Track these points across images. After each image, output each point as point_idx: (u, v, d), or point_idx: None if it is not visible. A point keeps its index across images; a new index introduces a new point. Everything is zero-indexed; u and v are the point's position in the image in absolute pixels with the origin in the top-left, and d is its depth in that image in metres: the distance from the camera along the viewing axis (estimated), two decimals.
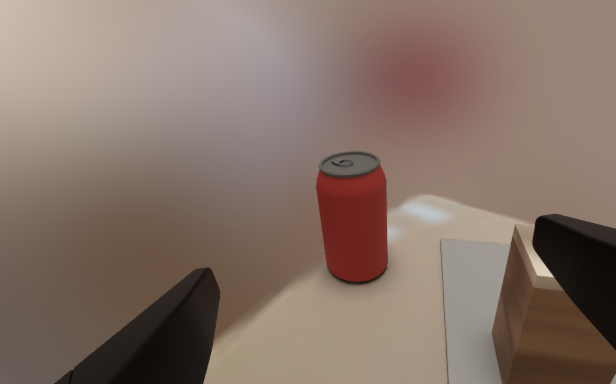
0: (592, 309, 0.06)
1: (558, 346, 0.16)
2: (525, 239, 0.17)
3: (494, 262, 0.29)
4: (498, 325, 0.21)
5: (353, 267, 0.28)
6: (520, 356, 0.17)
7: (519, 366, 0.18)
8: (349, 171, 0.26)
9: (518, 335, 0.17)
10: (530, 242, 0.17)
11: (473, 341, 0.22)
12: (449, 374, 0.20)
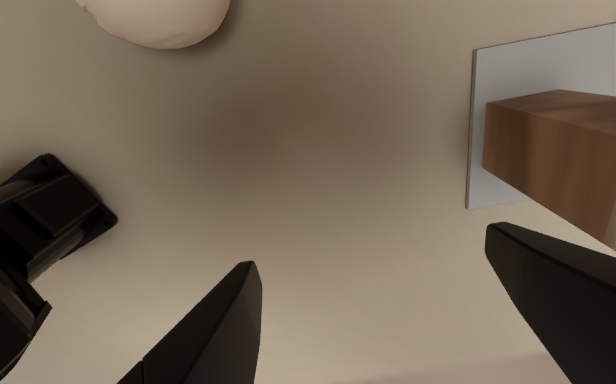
0: (533, 317, 0.07)
1: (542, 153, 0.15)
2: None
3: None
4: (570, 96, 0.17)
5: None
6: (527, 118, 0.15)
7: (515, 117, 0.16)
8: None
9: (552, 117, 0.14)
10: None
11: (545, 69, 0.18)
12: (496, 47, 0.17)
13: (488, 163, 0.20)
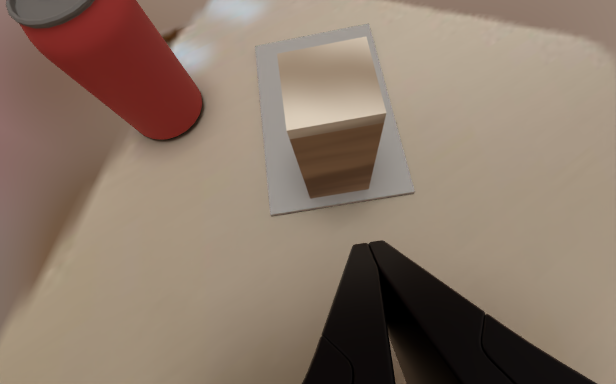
0: (391, 336, 0.07)
1: (330, 167, 0.18)
2: (283, 77, 0.14)
3: None
4: None
5: (160, 126, 0.24)
6: (308, 179, 0.19)
7: (311, 184, 0.20)
8: (59, 8, 0.16)
9: (300, 169, 0.18)
10: (288, 80, 0.14)
11: (288, 161, 0.24)
12: (269, 200, 0.23)
13: (361, 186, 0.22)
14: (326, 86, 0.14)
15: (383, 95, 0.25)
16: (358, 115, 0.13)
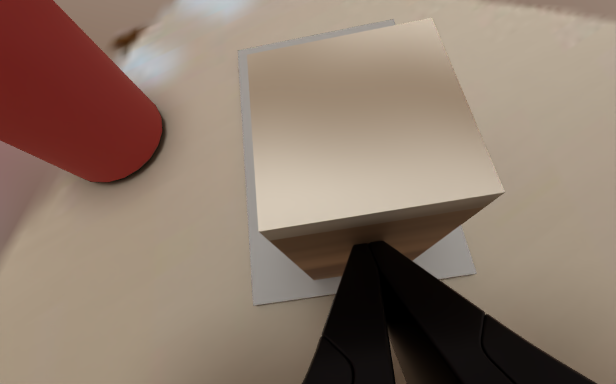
0: (391, 336, 0.07)
1: None
2: (258, 102, 0.07)
3: None
4: None
5: (94, 167, 0.17)
6: (311, 270, 0.11)
7: (315, 272, 0.12)
8: None
9: (296, 261, 0.10)
10: (266, 110, 0.07)
11: None
12: (252, 281, 0.15)
13: None
14: (351, 123, 0.06)
15: None
16: (432, 196, 0.05)
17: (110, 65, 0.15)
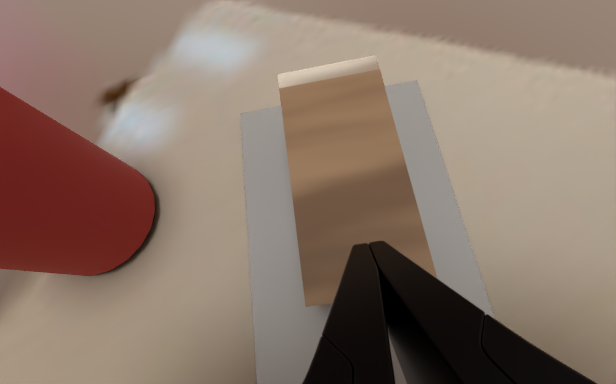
0: (391, 336, 0.07)
1: (332, 160, 0.12)
2: None
3: None
4: None
5: (75, 270, 0.14)
6: (300, 200, 0.11)
7: (305, 222, 0.11)
8: None
9: (289, 167, 0.12)
10: None
11: (292, 333, 0.14)
12: None
13: None
14: None
15: (451, 210, 0.15)
16: (348, 62, 0.13)
17: (91, 159, 0.13)
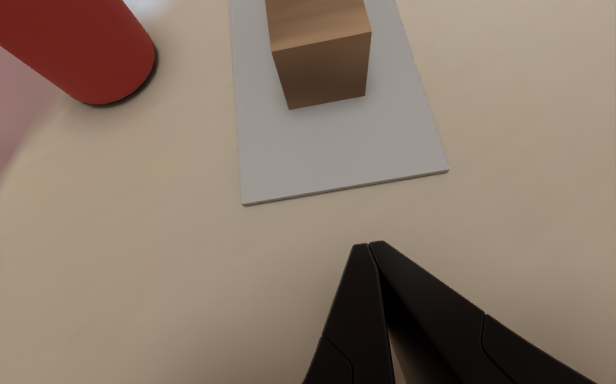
0: (391, 336, 0.07)
1: None
2: None
3: None
4: None
5: (90, 82, 0.17)
6: None
7: (273, 2, 0.14)
8: None
9: None
10: None
11: (268, 130, 0.17)
12: (241, 184, 0.16)
13: (354, 20, 0.13)
14: None
15: (400, 39, 0.18)
16: None
17: None
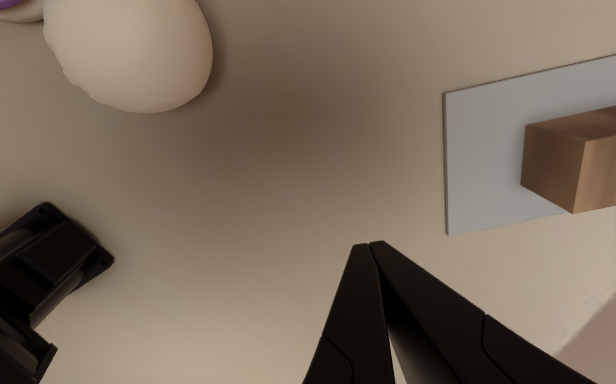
0: (391, 336, 0.07)
1: None
2: None
3: None
4: (569, 121, 0.19)
5: None
6: None
7: None
8: None
9: None
10: None
11: (510, 108, 0.19)
12: (463, 90, 0.19)
13: (587, 202, 0.17)
14: None
15: (563, 209, 0.23)
16: None
17: None
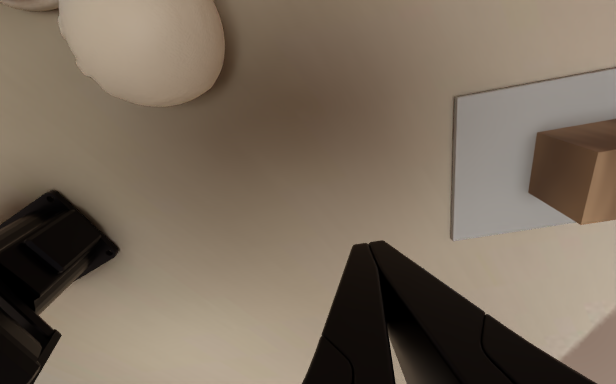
0: (391, 336, 0.07)
1: None
2: None
3: None
4: (582, 130, 0.19)
5: None
6: None
7: None
8: None
9: None
10: None
11: (522, 115, 0.19)
12: (475, 95, 0.19)
13: (597, 213, 0.17)
14: None
15: None
16: None
17: None
